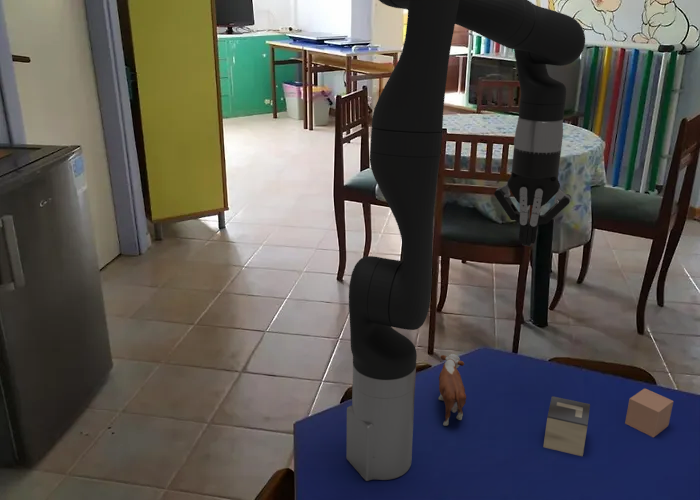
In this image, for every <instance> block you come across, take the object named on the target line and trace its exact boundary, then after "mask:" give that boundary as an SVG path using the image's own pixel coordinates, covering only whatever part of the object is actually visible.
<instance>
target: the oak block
mask: <svg viewBox="0 0 700 500" xmlns="http://www.w3.org/2000/svg"><path fill="white" fill-rule="evenodd" d="M590 408H591V404H590V403H586V402H581V401H576V400H573V399H568V398H562V397H558V396H554V395H553V396H551V399H550V403H549V407H548V413H547V417H546V418H547V419H546V425H545V432H544V440H543V445H542V446H543V448H545V449H549V450H554V451H559V452H562V453H567V454H571V455H575V456H579V457H584V456H583V455H584V452H585V444H586V437H587V433H588V432H587V431H588V425H589V424H588V423H589V416H590V411H591V410H590Z"/></svg>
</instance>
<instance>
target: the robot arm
mask: <svg viewBox="0 0 700 500" xmlns="http://www.w3.org/2000/svg"><path fill="white" fill-rule="evenodd" d="M378 1H379V2H380V3H381V4H383V5H385V6H388V7H391V8H395V9H403V10H407V19H406V28H405V35H404V36H405V38H404V42H403V46H402V51H401V53H400V55H399V58H398V61H397V63H396V65H395V66H394V68H393V70H392V72H391V74H390V76H389V78H388V80H387V81H386V83H385V85H384V87H383V89H382V91H381V93H380V95H379V97H378V99H377V101H376V104H375V107H374V109H373V113H372V119H371V131H370V133H371V134H370V146H369V164H370V169H371V171H372V172H371V173H372V175H373V177H374V179H375V182H376V183H377V186H378V188H379V190H380V191H381V194H382V196H383V199H385V202H386V203H387V204H388V206H389V209H390V211H391V213H392V215H393V218H394V219H395V222H396V223H397V224H396V225H397V228H398V231H399V234H400V237H401V238H400V239H401V243H402V244H401V245H402V256H403V260H398V259H392V258H386V257H380V256H371V255H367V256H364V257H362V258H360V259H359V260H358V261H357V262H356V264H355V265H354V267H353V269H352V272H351V275H350V276H351V277H350V281H349V287H348V311H349V312H348V314H349V330H350V331H349V333H350V338H349V339H350V351H351V354H352V395H351V396H352V397H351V398H352V399H351V401H352V404H351V405H350V406H347V407H346V460H347V461H348V462H349V464H350V465H351V466H352V467H353V468H354V469H355V470H356V472H358V473H359V475H360V476H361V477H362V478H363V479H364V481H366V482H370V481H372V480H380V481H387V480H388V481H389V480H394V479H397V478H400V477H402V476H403V475H405V474H406V473H407V472H408V471H409V470H410V468H411V465H412V458H413V457H412V456H413V434H414V414H415V412H414V411H415V395H416V394H415V393H416V392H415V391H416V373H417V371H416V370H417V360H418V359H417V356H418V355H417V349H416V346H415V344H414V343H413V342H412V341H411V339H410V338H408V337H407V336H405V335H403V334H402V333H400V332H399V331H397V330H396V329H402V330H407V331H408V330H409V331H416V330H418V329H420V328H422V326H423V325H424V323H425V322H426V319H427V318H428V314H429V310H430V305H431V300H432V297H431V296H432V288H433V287H432V285H433V284H432V282H433V281H432V280H433V238H434V237H433V235H434V234H433V232H434V215H435V204H436V203H435V202H436V194H437V183H438V176H439V169H440V161H441V153H442V151H441V149H442V140H443V138H442V137H443V124H444V123H443V121H444V108H445V107H444V106H445V97H446V96H445V95H446V87H447V79H448V69H449V61H450V55H451V54H450V53H451V48H452V42H453V36H454V31H455V26H459V27H462V28H465V29H467V30H469V31H471V32H474V33H475V34H478V35H480V36H482V37H484V38H486V39H488V40H490V41H492V42H494V43H496V44H499V45H500V46H503V47H505V48H507V49H510V50H514V59H515V63H516V64H515V65H516V69H517V77H518V82H519V87H520V88H519V89H520V97H519V109H518V119H517V123H516V127H515V133H514V138H513V155H512V164H511V165H512V166H511V173H510V174H511V175H510V177H509V178H508V180H507V181H506V182H507V183H506V184H505V185H503V186H499V187H497V188H496V190H495V191H494V194H493V195H494V196H495V198H496V200H497V201H498V203H499V204H500V206H501V207H502V209H503V211H505V213H506V215H507V217H509V219H510V220H511V221H516V222H517V223H519V232H518V240H519V243H520V242H521V246H525V247H531V246H533V245H532V244H535V243H536V241H537V239H538V230H539V226H540V225H547V224H549V223H550V221H552V220H553V219H554V218H555V217H556V216H557V215H558V214H559V213H560V212H562V211H563V210H564V209H565V208H566V207H567V206H568V205H570V202H571V200H572V196H571V195H570V194H569V193H567V194H566V193H565V192H564V191H563V190H561V184H560V181H559V171H560V170H559V169H560V162H561V161H560V160H561V154H562V147H563V145H562V144H563V139H564V138H563V137H564V115H565V108H566V100H567V88H566V85H565V84H564V83H563V82H561V81H559V80H557V79H554V78H553V77H551V76H550V75H549V73H548V69H547V65H548V66H549V65H550V66H558V67H559V66H560V67H561V66H568V65H571V64H572V63H574V62H576V61H577V60H578V59H579V57H581V55H582V53H583V51H584V49H585V45H586V35H585V32H584V28H583V26H582V25H581V23H580V22H579V21H577V19H575V18H573V17H572V16H570V15H567V14H565V13H562V12H559V11H556V10H552V9H550V8H546V7H543V6H542V7H541V6H539V5H536V4H534V3H533V2H531V1H530V0H378ZM511 194H512V195H513V197H514V198H515V200H516V202H517V203H518V204H519V209H517V207H516V205H515V204H514V202H513V200H512V199H511V198H510V196H511ZM554 196H555V198H554V204H553V205H552V206H551V207H550V208H549V209H548V210H547V211H546V212H545V213H544V214H541V212H542V208H543V206H545V205H546V204H548V203H549V201H551V199H552V198H553V197H554ZM531 206H532V208H531ZM530 208H531V215H530ZM395 328H396V329H395Z"/></svg>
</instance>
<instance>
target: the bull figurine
mask: <svg viewBox="0 0 700 500" xmlns="http://www.w3.org/2000/svg"><path fill="white" fill-rule="evenodd" d="M440 359H441V360H442V361H444V363H443V365H442V369H441V370H440V373H439V376H438V381H439V382H438V391H439V393H440V395H439V396H438V400H439V401H443V403H444V405H445V415H444V416H445V420H444V421H443V424H442V425H443V426H445V427H448V426H449V423H450V422H449V420H450V417H451V412H452V413H457V414H456V417H455V418H456V419H457V420H458V421H462V419H463V416H464V413H463V408H464V406H465V405H466V401H467V394H466V388H465V386H464V385H465V384H464V383H463V379H462V375H461V373H460V372H459V370H458V368H459V367H460V366H461V367H463V366H464V365H465V362H464V361H463V360H461V359H460V356H458V355H457V354H454V353H450V354H449V355H448V356H447V355H444V354H441V355H440Z"/></svg>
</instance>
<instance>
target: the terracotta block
mask: <svg viewBox="0 0 700 500" xmlns="http://www.w3.org/2000/svg"><path fill="white" fill-rule="evenodd" d="M673 405H674V400H672V399H670V398H668V397H666V396H664V395H661V394H658V393H657V392H654V391H652V390H649V389H647V388H645V387H644V388H643V389H642V390H639V391H638V392H636V393H635V394H634V395H633V396H631V397H629V400H628V406H627V410H626V416H625V422H624V424H625V425H628V426H630V427H631V428H634V429H635V430H638V431H639V432H641V433H643V434H645V435H647V436H649V437H651V438H655V437H656V436H658V435H659V434H660V433H661V432H663V431H664V430H666V429H667V427H669V424H670V421H671V420H670V419H671V415H672V410H673Z"/></svg>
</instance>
